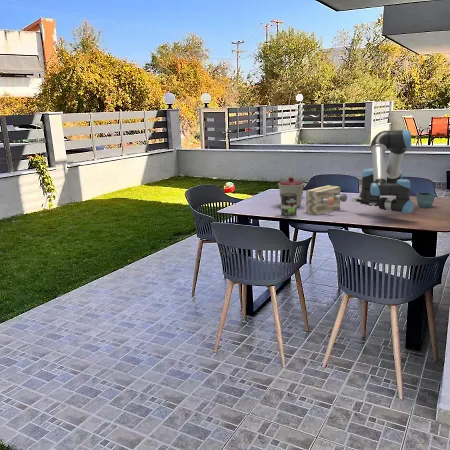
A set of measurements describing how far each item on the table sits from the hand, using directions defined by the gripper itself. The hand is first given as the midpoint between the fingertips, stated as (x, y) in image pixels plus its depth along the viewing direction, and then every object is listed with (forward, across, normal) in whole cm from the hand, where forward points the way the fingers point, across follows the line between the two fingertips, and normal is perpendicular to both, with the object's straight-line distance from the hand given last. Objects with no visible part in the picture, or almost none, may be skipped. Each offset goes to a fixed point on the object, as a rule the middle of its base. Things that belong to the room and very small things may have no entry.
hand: (353, 199), depth 293 cm
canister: (+43, -10, -9) cm, 45 cm away
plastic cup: (+58, +16, -9) cm, 61 cm away
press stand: (+18, -7, -9) cm, 21 cm away
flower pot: (-27, +44, -9) cm, 53 cm away
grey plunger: (+12, 0, -3) cm, 12 cm away
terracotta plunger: (+12, -14, -3) cm, 19 cm away
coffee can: (+26, -33, -9) cm, 43 cm away
